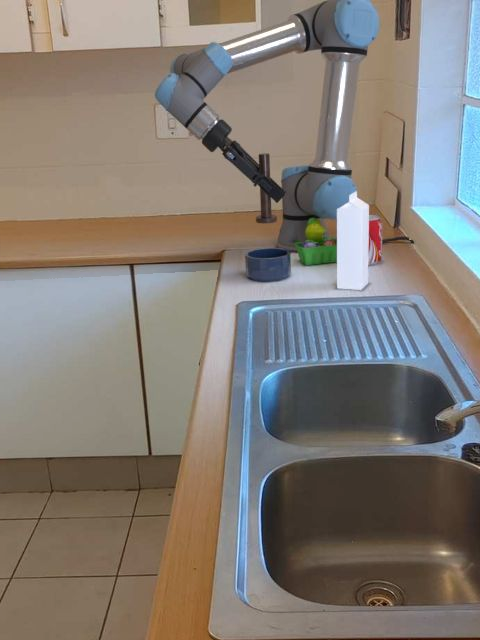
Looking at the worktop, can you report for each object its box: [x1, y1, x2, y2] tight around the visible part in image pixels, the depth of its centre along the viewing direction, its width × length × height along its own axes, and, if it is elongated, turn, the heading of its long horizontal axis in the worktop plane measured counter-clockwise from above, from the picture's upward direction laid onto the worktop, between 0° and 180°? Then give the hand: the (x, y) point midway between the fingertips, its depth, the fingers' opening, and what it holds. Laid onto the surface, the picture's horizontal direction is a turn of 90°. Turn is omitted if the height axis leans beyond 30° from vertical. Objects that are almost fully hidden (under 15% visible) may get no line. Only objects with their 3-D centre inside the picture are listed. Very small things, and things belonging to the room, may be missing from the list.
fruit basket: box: [295, 218, 337, 266], centre depth 201 cm, size 11×9×11 cm
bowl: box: [244, 247, 292, 282], centre depth 191 cm, size 11×12×6 cm
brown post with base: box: [255, 152, 278, 224], centre depth 184 cm, size 5×5×16 cm
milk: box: [336, 190, 370, 291], centre depth 176 cm, size 6×6×22 cm
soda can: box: [368, 214, 383, 266], centre depth 197 cm, size 7×7×12 cm
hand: (281, 197), depth 184 cm, fingers closed on brown post with base, 3 cm apart
